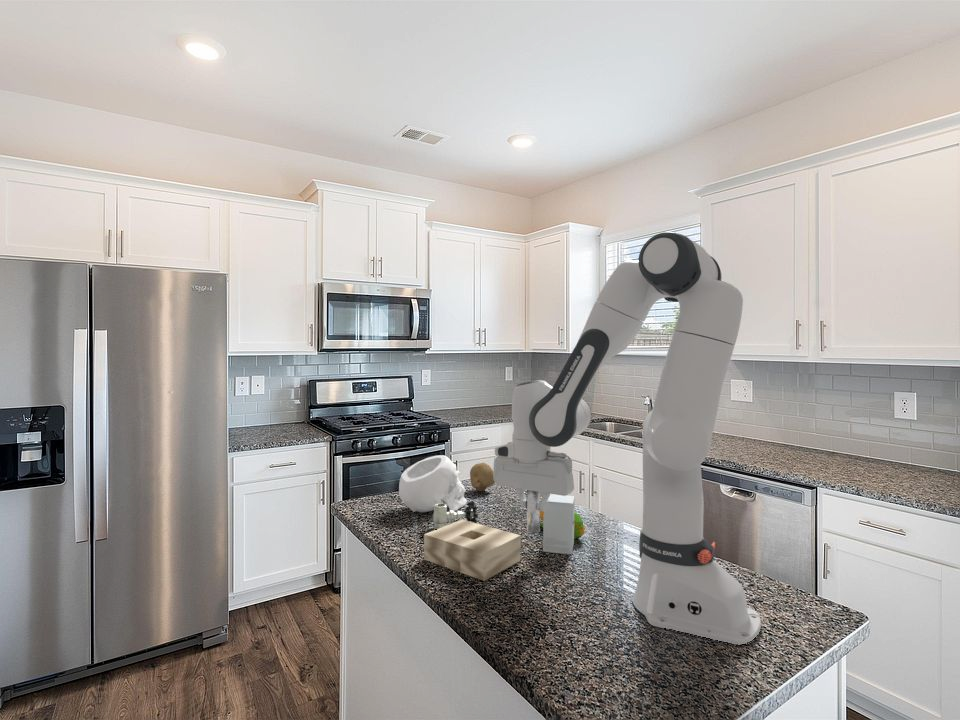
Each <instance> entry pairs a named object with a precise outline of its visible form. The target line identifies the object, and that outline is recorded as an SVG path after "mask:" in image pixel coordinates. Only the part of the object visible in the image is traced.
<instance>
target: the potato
mask: <svg viewBox="0 0 960 720" xmlns="http://www.w3.org/2000/svg"><path fill="white" fill-rule="evenodd" d="M470 468H471V469H470V472H469V478H470V485H471V487H472V488H473V489H474V490H475V489H476V491H478V492H484V491H485V490H487V488H490V487H492V486H493V485H494V484H496V483H495V481H494V478H493V469H492V467H491V466H490V465H489V464H488V463H485V462H479V463H475V464H474V465H473V466H472V467H470Z"/></svg>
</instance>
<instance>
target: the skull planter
mask: <svg viewBox="0 0 960 720" xmlns="http://www.w3.org/2000/svg"><path fill="white" fill-rule="evenodd" d="M398 485H399V486H398V493H399V497H400V500H401V501H402V502H403V504H404V505H405V506H406V507H407V508H408V509H410V511H411V512H412V513H414V512H415V513H416V512H419V513H427V512H431V511H434V505H435V504H439V503H443V504H446V505H447V508H448V510H453V511H454V512H456V511H458V510H459V509H460V508H463V507H465V506H466V505H467V503H468V500H467V499H466V498H465V493H466V488H465V486H464V485H463V481H462V480H461V472H460V471H458V470H457V465H456V464H455V463H453V461H452V460H451V459H450V458H449V457H448V456H446V455H443V454H441V455H440V454H439V455H438V454H436V455H434V456H433V455H432V456H428V457H426V458H424V459H422V460H420V461H417V462H415V463H414V464H412V465H410V466H409V467H407V468H406V469H404V471H403V472H402V474H401V476H400V478H399V484H398ZM455 510H456V511H455Z"/></svg>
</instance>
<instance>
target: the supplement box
mask: <svg viewBox="0 0 960 720" xmlns="http://www.w3.org/2000/svg"><path fill="white" fill-rule="evenodd" d="M575 499H576V498H575V495H569V494H568V495H566V496H562V495H556V494H550V496H549V498H548V500H547V502H546V509H545V511H544V517H543V521H542V522H543V527H542V530H543V531H542V532H543V533H542V535H543V536H542V539H543V540H542V551H543V552H544V553H554V554H564V555H572V554H573V549H574V544H575V539H574V512H575V503H576V502H575V501H576V500H575Z"/></svg>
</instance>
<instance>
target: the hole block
mask: <svg viewBox="0 0 960 720" xmlns="http://www.w3.org/2000/svg"><path fill="white" fill-rule="evenodd" d="M521 542H522V535H521V534H517V533H513V532H510V531H505V530H503V529H498V528H495V527H491V526H487V525H484V524H481V523H478V522H477V523H473V522H471V521H468V520H467V519H460V520H458V521H455V522H453V523H450V524H447V526H444V527H442V528H439V529H437V530H435V529H433V530H431V531H429V532H427V533H424V534H423V560H424V561H427V562H429V561H430V563H432V564H435V565H439V566H441V567H444V568H446V567H447V568H448V569H450V570H453V571H454V572H455V571H456V572H458V573H461V574H464V575H466V576H469V577H472V578H474V579H478V580H481V581H484V582H486V581H487V580H488V579H490V578H493V577H494V576H496V575H498V574H500V573H502V572H503V571H505V570H506V569H508V568H510V567H512V566H514V565H516V564H518V563H519V562H520V561H521V554H522V553H521V552H522V551H521V548H522V547H521V545H522V543H521Z"/></svg>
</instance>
